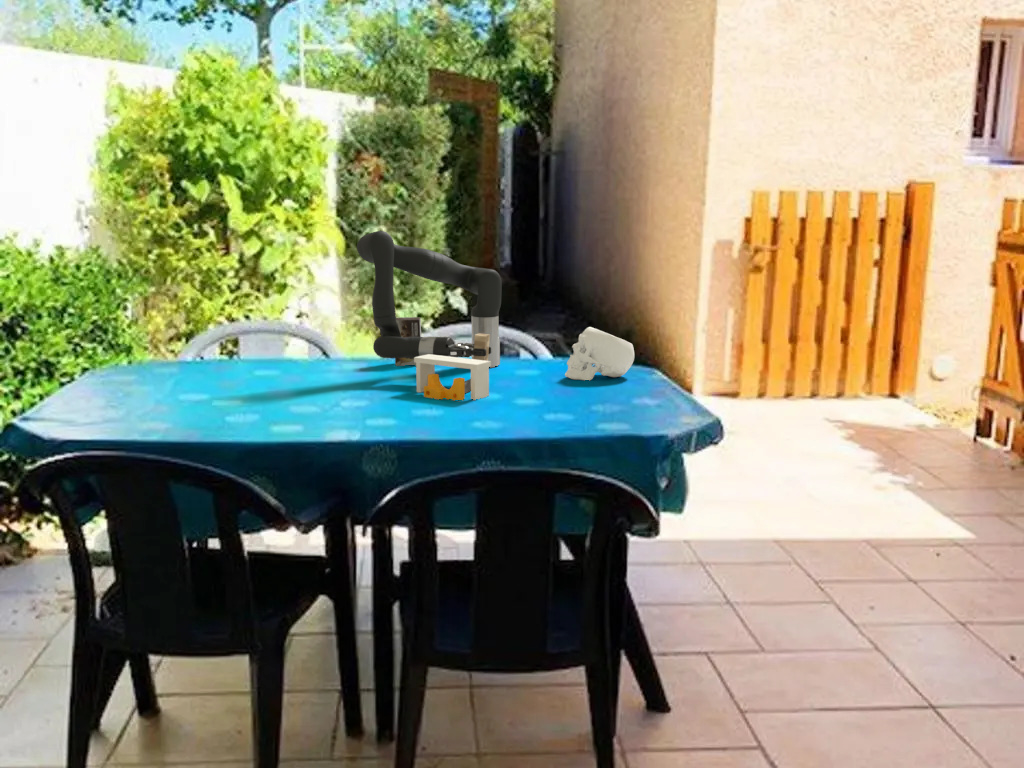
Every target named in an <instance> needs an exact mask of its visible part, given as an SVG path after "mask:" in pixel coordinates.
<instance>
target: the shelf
mask: <svg viewBox="0 0 1024 768" xmlns="http://www.w3.org/2000/svg"><path fill="white" fill-rule="evenodd" d="M414 362H416V365H415V367H416V369H415V371H416V372H415V375H416V393H424V386H428V375H429V374H436V371H435V369H436V368H435V366H443V367H449V368H458V369H466V370H467V369H468V370H470V379H471V391H470V400H471V399H473V400H472V401H476V399H478V400H480V398H481V399H484V398H487V396H488V397H490V368H491V367H490V366H491V361H485V360H476V359H472V358H467V357H450V356H441V355H432V354H427V355H422V356H418V357H414ZM489 367H490V368H489Z"/></svg>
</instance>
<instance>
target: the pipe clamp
mask: <svg viewBox="0 0 1024 768" xmlns="http://www.w3.org/2000/svg"><path fill="white" fill-rule="evenodd" d="M439 376H440V375H439V374H438V373H435V374H429V375H428V386H424V392H423V398H429V399H433V398H434V400H439V399H441V400H444V399H443V398H446V399H445V400H449V399H452V400H451V401H455V400H462V401H464V400H463V399H466V398H465V395H466V394H465V381H466V379H465V377H464V378H463V377H455V378H453V382H452V385H451V387H450V388H449V389H448V388H446V387H445V386H444V385H443V384H442V382H441V380H440V377H439Z"/></svg>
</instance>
